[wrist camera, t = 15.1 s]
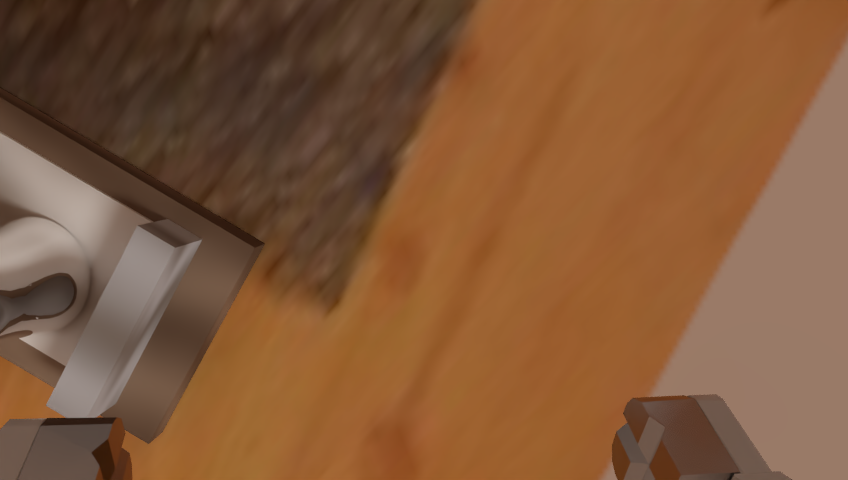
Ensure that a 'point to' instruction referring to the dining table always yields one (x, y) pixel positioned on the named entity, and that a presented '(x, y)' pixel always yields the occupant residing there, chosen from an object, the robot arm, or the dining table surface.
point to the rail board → (192, 293)
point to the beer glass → (39, 277)
